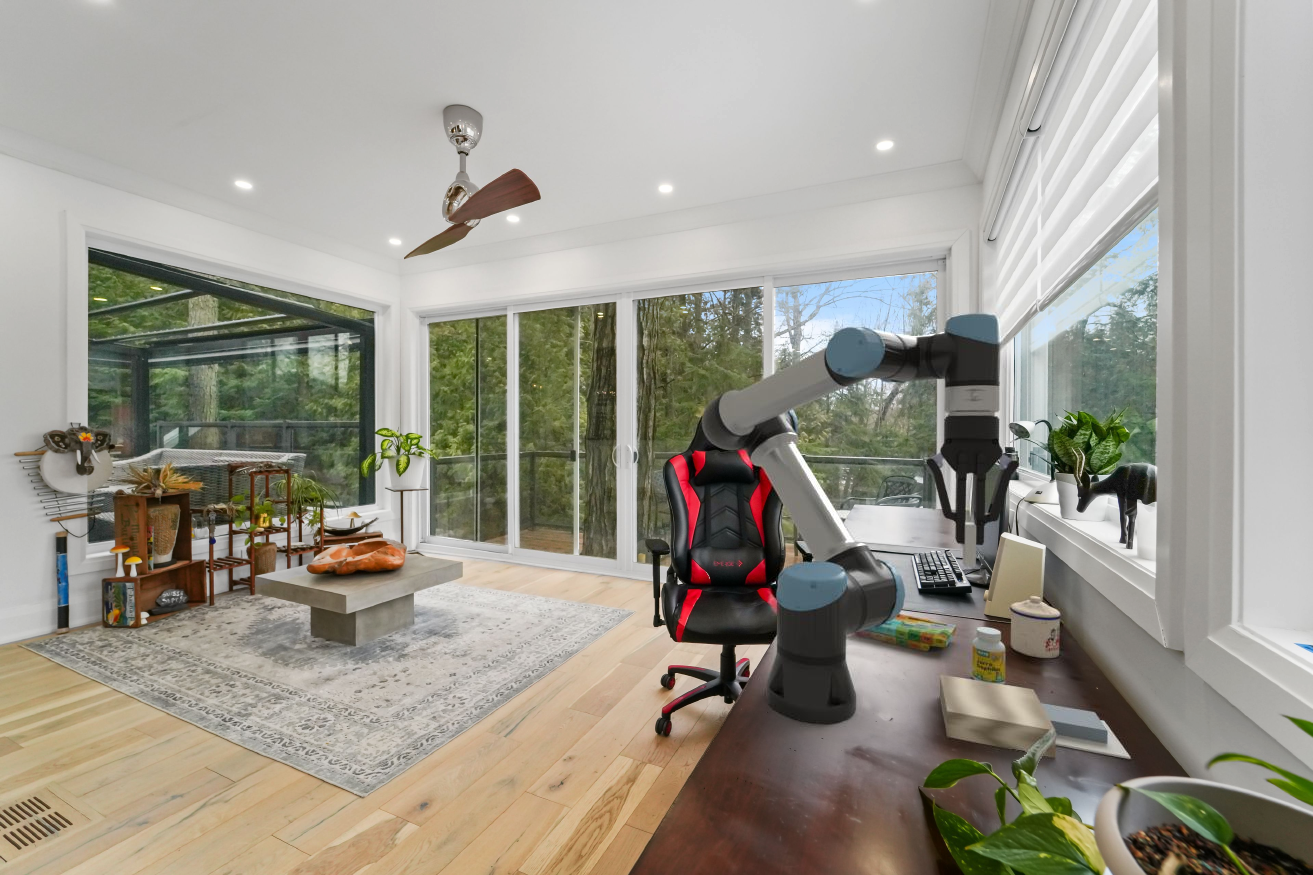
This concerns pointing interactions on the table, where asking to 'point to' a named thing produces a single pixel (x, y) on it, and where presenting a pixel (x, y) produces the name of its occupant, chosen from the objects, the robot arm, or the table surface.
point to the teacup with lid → (1035, 628)
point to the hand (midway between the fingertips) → (969, 564)
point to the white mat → (1095, 744)
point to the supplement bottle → (988, 656)
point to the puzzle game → (912, 632)
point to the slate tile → (1076, 723)
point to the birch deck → (993, 714)
